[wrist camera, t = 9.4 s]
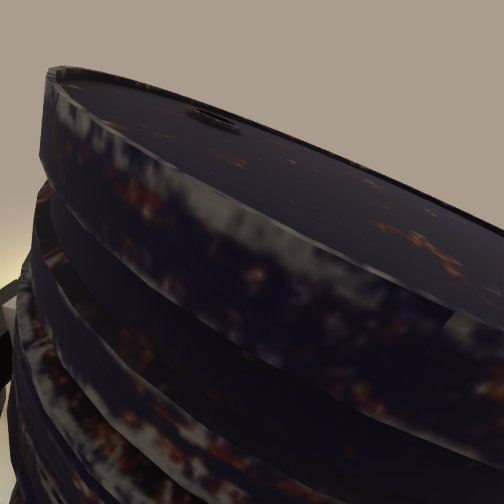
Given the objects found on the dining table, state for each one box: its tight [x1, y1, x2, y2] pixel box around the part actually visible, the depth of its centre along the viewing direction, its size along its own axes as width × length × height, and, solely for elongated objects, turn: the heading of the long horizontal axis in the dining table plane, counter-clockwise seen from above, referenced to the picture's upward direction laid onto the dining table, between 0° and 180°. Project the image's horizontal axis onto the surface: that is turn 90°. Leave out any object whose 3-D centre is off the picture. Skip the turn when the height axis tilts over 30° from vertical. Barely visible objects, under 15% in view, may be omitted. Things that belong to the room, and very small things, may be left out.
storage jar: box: [7, 66, 504, 504], centre depth 9 cm, size 10×10×15 cm
